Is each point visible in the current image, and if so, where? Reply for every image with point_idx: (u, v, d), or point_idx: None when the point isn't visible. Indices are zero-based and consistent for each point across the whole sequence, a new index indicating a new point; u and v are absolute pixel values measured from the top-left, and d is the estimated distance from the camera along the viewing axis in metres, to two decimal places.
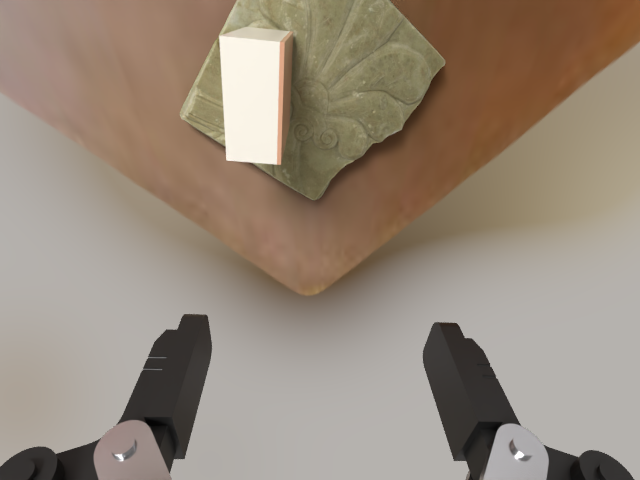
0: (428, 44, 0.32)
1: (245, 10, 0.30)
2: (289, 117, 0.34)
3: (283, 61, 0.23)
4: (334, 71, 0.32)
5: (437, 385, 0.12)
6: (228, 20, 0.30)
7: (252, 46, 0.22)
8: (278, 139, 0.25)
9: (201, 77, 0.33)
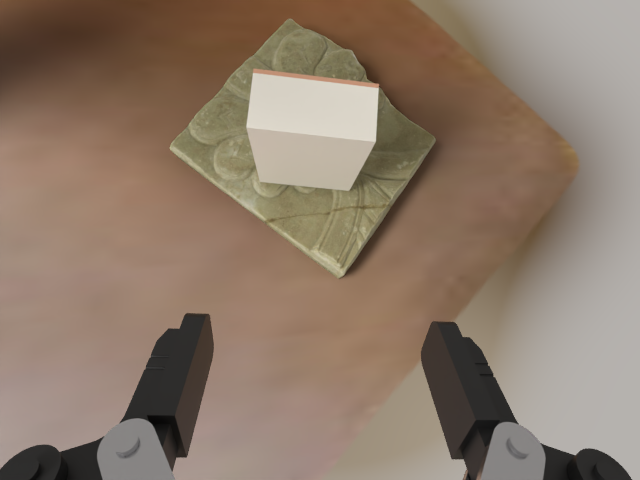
0: (274, 34, 0.35)
1: (243, 191, 0.32)
2: None
3: None
4: None
5: (435, 384, 0.12)
6: (251, 209, 0.32)
7: (256, 97, 0.22)
8: (349, 83, 0.23)
9: (301, 243, 0.31)
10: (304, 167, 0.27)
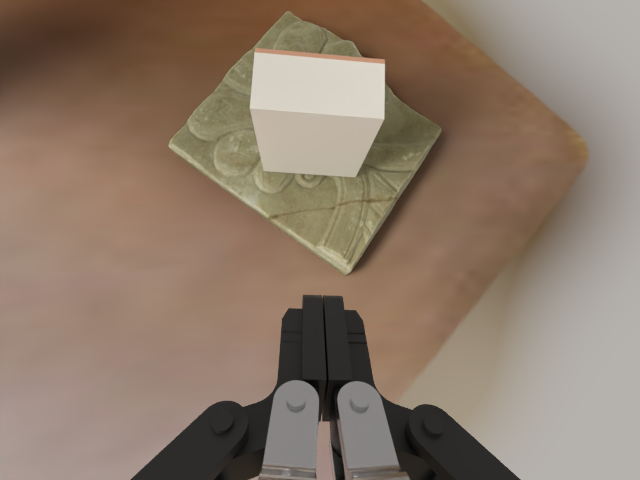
0: (272, 27, 0.34)
1: (245, 188, 0.31)
2: None
3: (272, 51, 0.22)
4: None
5: None
6: (253, 205, 0.31)
7: (259, 77, 0.21)
8: (354, 60, 0.22)
9: (306, 239, 0.30)
10: (310, 151, 0.26)
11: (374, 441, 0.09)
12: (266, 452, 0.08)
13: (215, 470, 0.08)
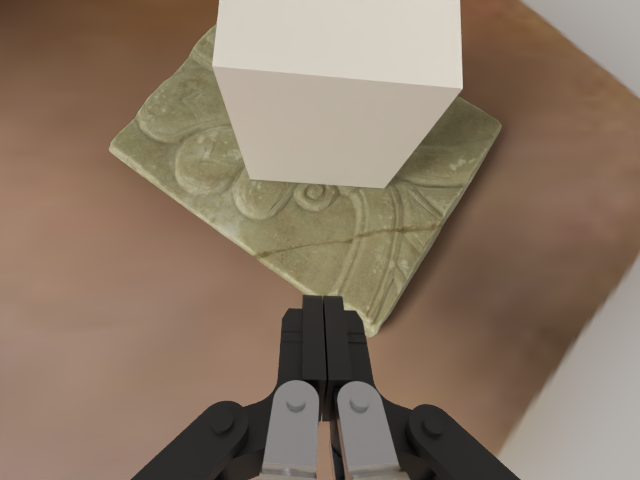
0: None
1: (220, 212, 0.21)
2: None
3: None
4: None
5: None
6: (233, 238, 0.21)
7: (230, 10, 0.11)
8: None
9: (310, 288, 0.21)
10: (320, 150, 0.16)
11: (374, 441, 0.09)
12: (266, 452, 0.08)
13: (215, 470, 0.08)
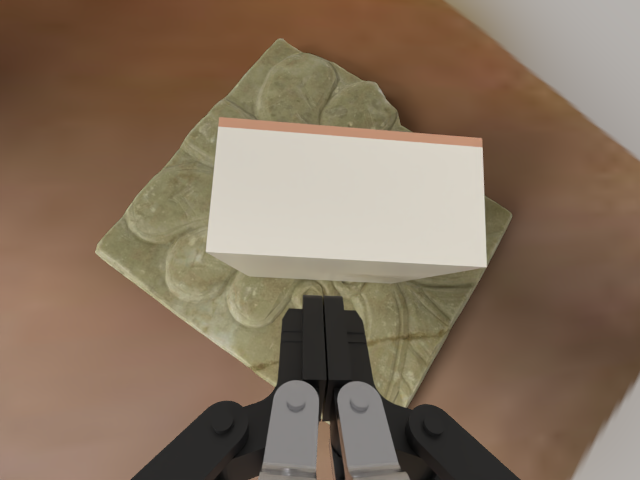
0: (257, 62, 0.23)
1: (213, 320, 0.20)
2: None
3: None
4: None
5: None
6: (226, 348, 0.19)
7: (226, 182, 0.10)
8: (422, 140, 0.11)
9: None
10: (325, 273, 0.15)
11: (374, 441, 0.09)
12: (266, 452, 0.08)
13: (215, 470, 0.08)
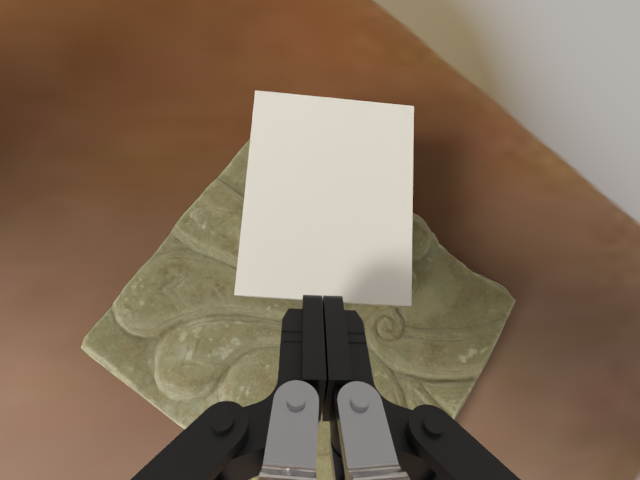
0: None
1: None
2: None
3: None
4: None
5: None
6: None
7: None
8: None
9: None
10: (325, 201, 0.17)
11: (375, 441, 0.09)
12: (266, 452, 0.08)
13: (215, 470, 0.08)
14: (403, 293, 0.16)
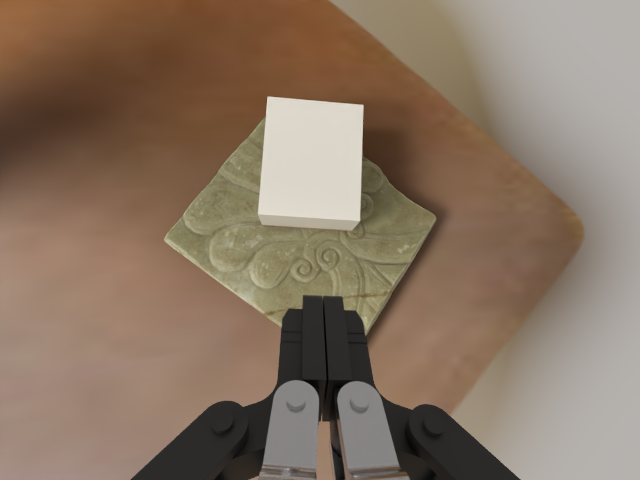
0: None
1: (240, 283, 0.31)
2: None
3: None
4: None
5: None
6: (249, 301, 0.31)
7: None
8: None
9: None
10: (310, 162, 0.28)
11: (374, 441, 0.09)
12: (266, 452, 0.08)
13: (215, 470, 0.08)
14: (355, 213, 0.28)
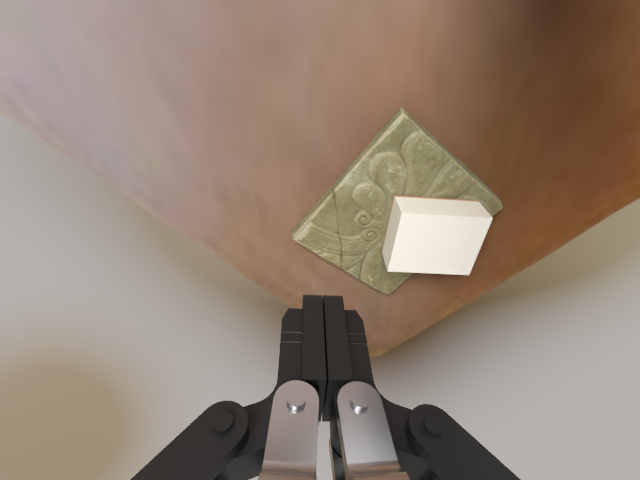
0: (491, 196, 0.42)
1: (358, 175, 0.40)
2: None
3: None
4: None
5: None
6: (343, 181, 0.40)
7: None
8: None
9: (316, 215, 0.43)
10: (434, 244, 0.40)
11: (374, 441, 0.09)
12: (266, 452, 0.08)
13: (215, 470, 0.08)
14: (392, 269, 0.42)
